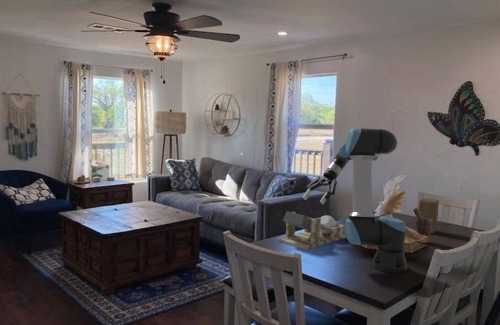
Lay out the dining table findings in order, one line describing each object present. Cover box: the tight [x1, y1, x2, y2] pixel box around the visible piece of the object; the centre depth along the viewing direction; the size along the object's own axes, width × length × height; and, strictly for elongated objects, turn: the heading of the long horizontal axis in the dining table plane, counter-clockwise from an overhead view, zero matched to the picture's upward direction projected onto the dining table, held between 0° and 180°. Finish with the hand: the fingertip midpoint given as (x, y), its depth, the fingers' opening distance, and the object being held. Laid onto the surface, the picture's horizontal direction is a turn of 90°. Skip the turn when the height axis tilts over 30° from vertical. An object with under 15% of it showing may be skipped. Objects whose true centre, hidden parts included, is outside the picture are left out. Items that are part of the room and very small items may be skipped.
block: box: [417, 198, 440, 234], centre depth 257 cm, size 10×10×20 cm
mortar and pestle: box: [412, 207, 433, 242], centre depth 231 cm, size 12×9×20 cm
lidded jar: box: [320, 215, 338, 235], centre depth 238 cm, size 11×11×9 cm
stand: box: [277, 211, 346, 251], centre depth 232 cm, size 35×20×15 cm, turn 133°
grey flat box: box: [282, 210, 329, 231], centre depth 228 cm, size 24×16×7 cm, turn 133°
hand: (312, 200), depth 230 cm, fingers open, 13 cm apart
